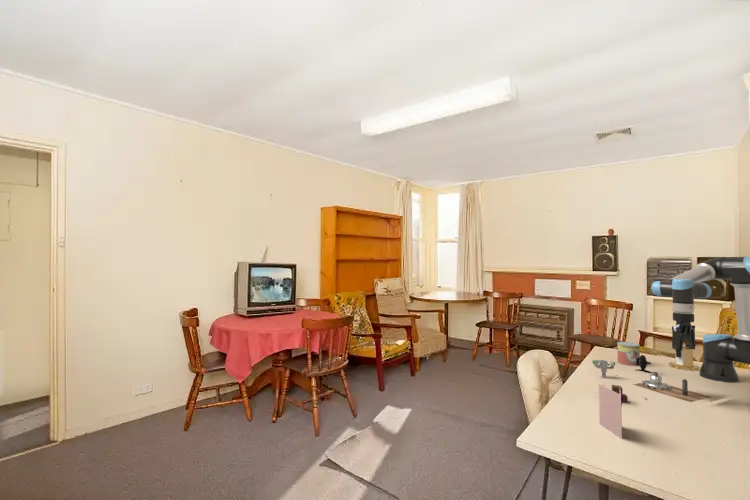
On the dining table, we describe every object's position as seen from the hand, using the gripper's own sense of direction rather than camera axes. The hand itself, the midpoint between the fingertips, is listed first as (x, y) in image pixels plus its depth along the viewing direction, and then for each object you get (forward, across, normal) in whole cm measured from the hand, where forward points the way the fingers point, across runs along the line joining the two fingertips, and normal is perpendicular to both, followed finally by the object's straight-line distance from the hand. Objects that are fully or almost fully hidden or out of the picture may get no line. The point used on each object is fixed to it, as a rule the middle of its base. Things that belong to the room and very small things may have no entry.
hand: (684, 363), depth 165 cm
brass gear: (+2, 0, 0) cm, 2 cm away
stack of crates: (+16, -31, +10) cm, 37 cm away
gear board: (+15, 0, +6) cm, 17 cm away
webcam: (+16, +22, +31) cm, 41 cm away
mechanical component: (+16, -10, +31) cm, 36 cm away
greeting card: (+16, -63, -9) cm, 65 cm away
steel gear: (+14, 0, +12) cm, 18 cm away
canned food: (+16, +35, +47) cm, 61 cm away
